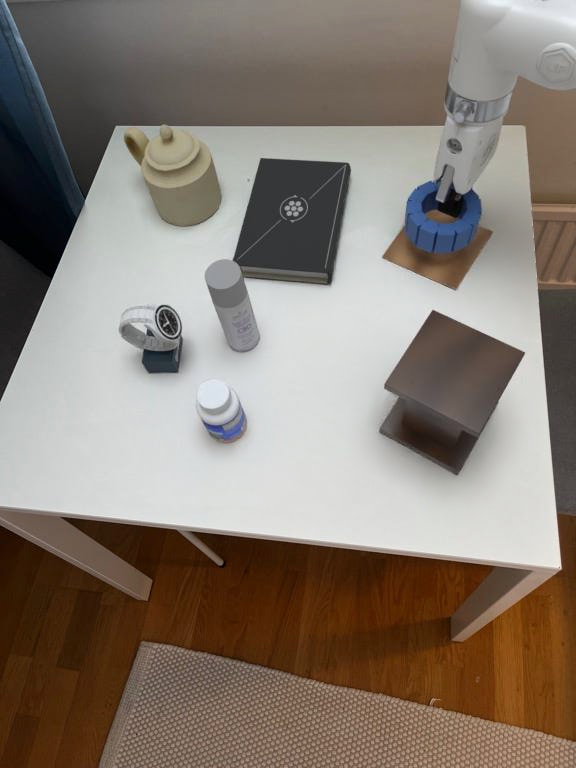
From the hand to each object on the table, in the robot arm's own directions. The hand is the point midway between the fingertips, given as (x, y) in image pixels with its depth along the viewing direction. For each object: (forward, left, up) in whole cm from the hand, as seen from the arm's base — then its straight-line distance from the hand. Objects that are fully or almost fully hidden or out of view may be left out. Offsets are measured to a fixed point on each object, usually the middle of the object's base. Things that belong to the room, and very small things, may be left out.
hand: (453, 205), depth 84 cm
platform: (-13, +29, -5) cm, 32 cm away
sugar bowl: (+41, +16, -5) cm, 44 cm away
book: (+21, +11, -5) cm, 24 cm away
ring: (0, +4, -1) cm, 4 cm away
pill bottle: (+10, +44, -5) cm, 45 cm away
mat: (0, +4, -5) cm, 6 cm away
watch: (+24, +40, -5) cm, 47 cm away
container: (+16, +32, -5) cm, 36 cm away
